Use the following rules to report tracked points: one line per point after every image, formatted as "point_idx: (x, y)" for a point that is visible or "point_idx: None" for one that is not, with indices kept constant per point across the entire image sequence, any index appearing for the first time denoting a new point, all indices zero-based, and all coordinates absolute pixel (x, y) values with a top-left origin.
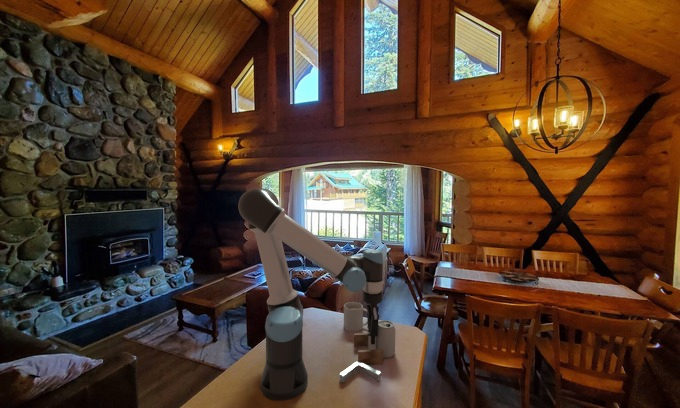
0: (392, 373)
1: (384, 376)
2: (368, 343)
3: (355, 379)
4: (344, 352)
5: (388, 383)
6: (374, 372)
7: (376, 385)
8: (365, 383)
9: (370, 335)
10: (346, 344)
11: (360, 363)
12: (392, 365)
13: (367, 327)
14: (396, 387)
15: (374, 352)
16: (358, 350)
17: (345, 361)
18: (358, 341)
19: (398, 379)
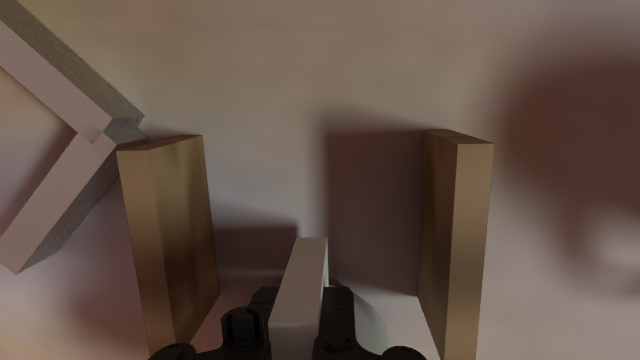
0: (119, 326)
1: (87, 278)
2: (320, 261)
3: (33, 99)
4: (349, 37)
5: (31, 285)
6: (3, 234)
7: (3, 219)
8: (8, 158)
9: (167, 350)
10: (475, 63)
11: (93, 150)
12: (194, 344)
13: (401, 352)
14: (7, 317)
15: (146, 288)
16: (141, 153)
17: (224, 40)
18: (434, 174)
19: (72, 343)
